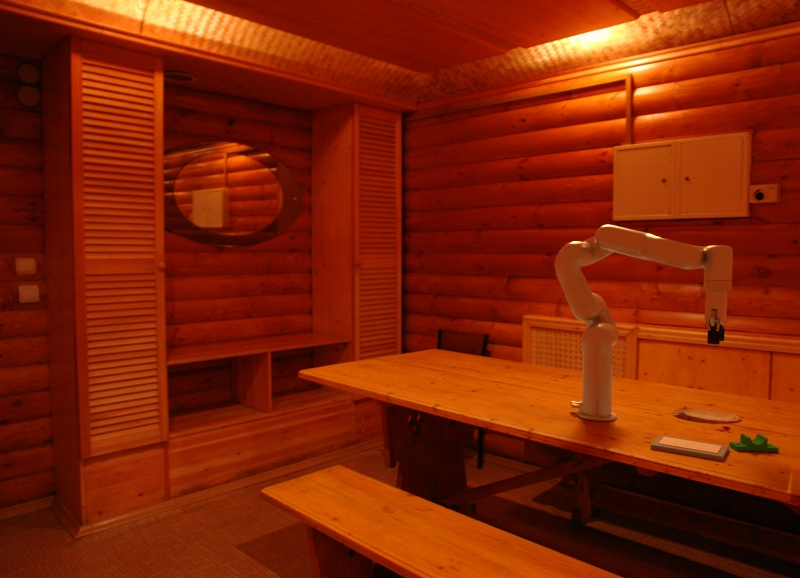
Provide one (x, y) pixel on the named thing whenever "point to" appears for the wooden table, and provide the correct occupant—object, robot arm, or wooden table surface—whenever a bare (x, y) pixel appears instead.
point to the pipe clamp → (753, 444)
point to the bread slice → (705, 416)
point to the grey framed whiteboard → (690, 447)
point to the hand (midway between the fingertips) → (715, 342)
